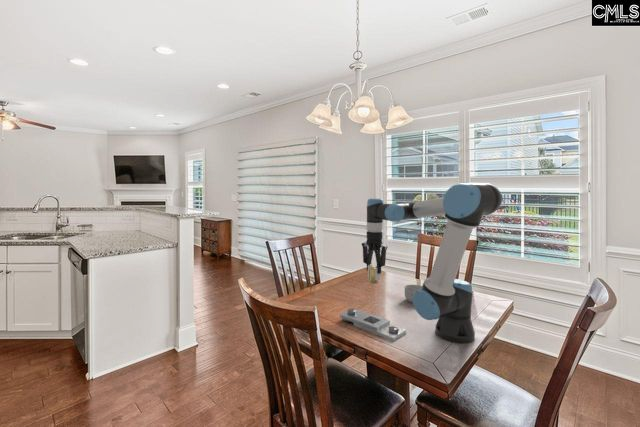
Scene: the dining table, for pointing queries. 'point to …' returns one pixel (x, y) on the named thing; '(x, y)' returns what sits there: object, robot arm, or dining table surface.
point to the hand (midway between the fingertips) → (373, 278)
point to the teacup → (411, 291)
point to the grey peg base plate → (378, 326)
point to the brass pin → (372, 275)
